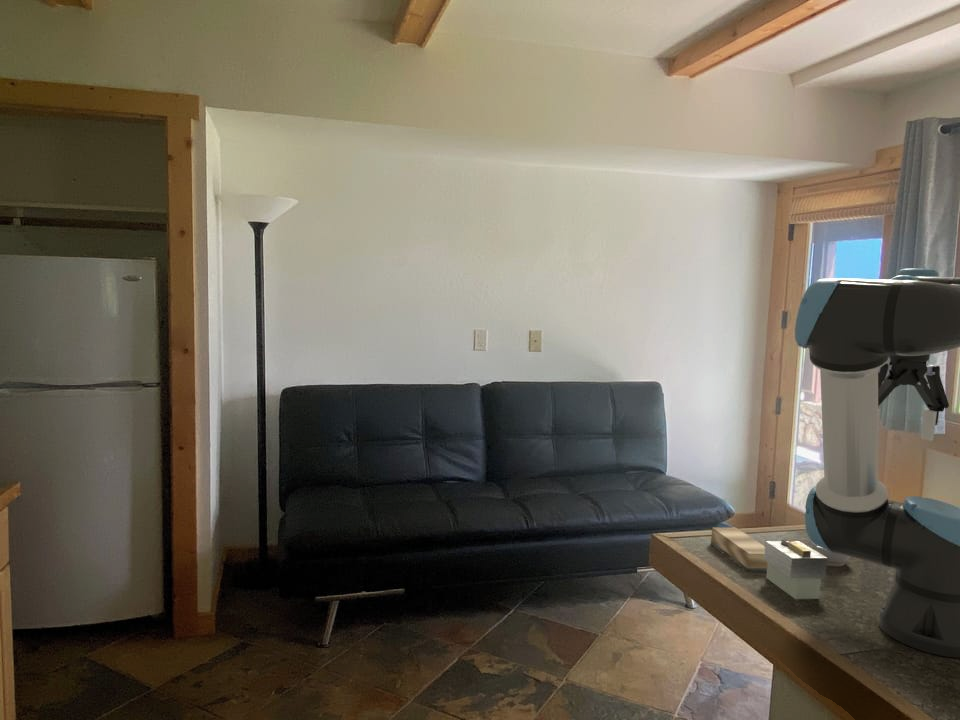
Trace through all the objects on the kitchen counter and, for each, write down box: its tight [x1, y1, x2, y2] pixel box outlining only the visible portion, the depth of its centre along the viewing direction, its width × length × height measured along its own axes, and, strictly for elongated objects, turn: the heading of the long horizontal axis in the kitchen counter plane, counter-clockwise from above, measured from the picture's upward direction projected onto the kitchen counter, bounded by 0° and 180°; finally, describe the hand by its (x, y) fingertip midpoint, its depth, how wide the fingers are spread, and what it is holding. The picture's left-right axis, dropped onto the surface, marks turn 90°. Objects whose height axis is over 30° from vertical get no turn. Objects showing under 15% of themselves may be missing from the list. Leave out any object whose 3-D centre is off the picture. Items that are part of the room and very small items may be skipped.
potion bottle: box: [807, 539, 851, 568], centre depth 154 cm, size 9×9×18 cm
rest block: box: [765, 563, 822, 600], centre depth 138 cm, size 10×5×4 cm, turn 9°
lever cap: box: [764, 538, 828, 579], centre depth 137 cm, size 9×8×5 cm
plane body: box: [710, 527, 768, 573], centre depth 153 cm, size 16×6×4 cm, turn 9°
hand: (899, 439), depth 150 cm, fingers open, 13 cm apart
